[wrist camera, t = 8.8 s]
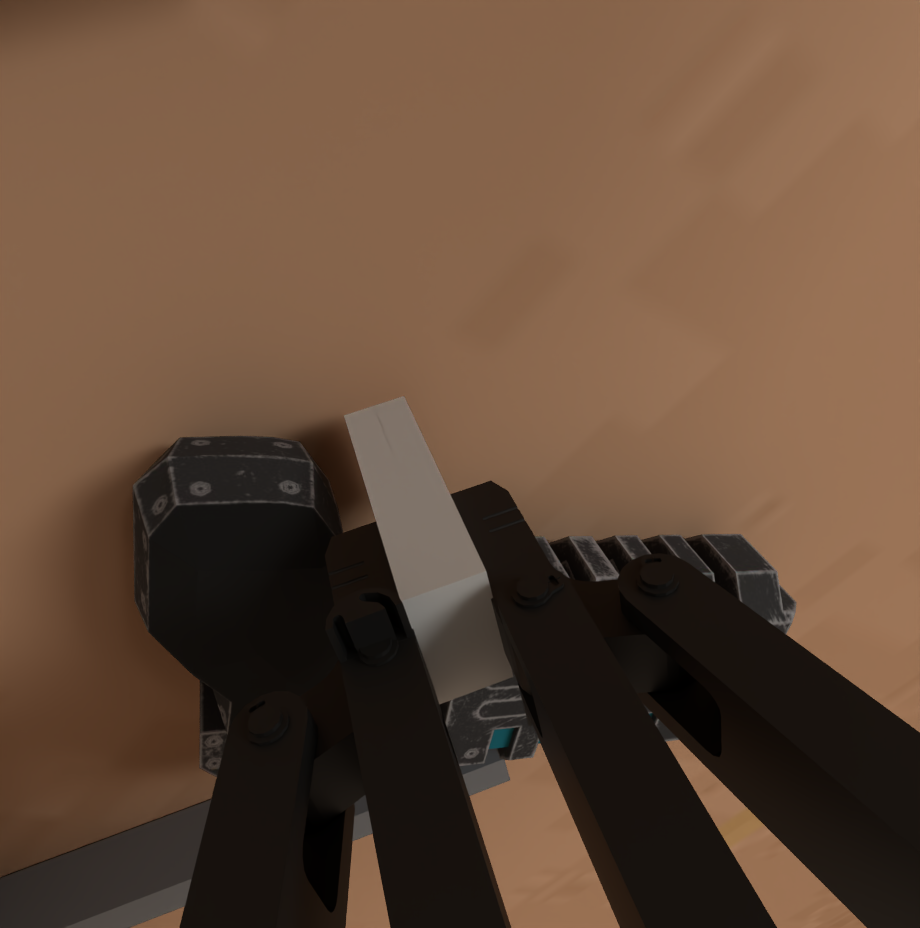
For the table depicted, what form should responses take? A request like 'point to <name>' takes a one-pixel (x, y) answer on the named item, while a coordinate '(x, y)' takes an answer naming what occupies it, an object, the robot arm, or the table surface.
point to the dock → (145, 869)
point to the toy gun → (308, 586)
